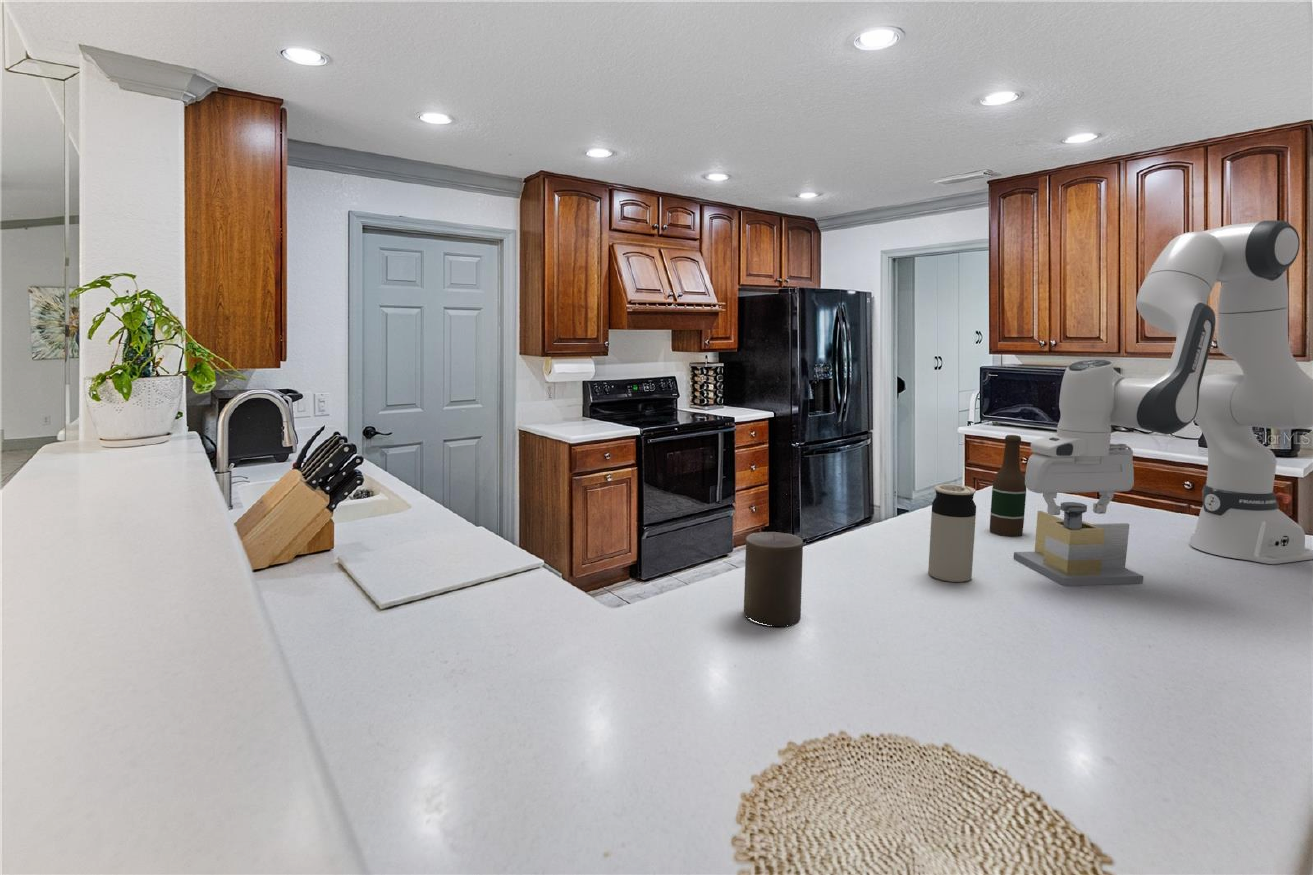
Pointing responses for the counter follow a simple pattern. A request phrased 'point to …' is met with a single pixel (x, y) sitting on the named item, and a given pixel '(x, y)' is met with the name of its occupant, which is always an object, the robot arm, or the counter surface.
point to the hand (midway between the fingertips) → (1076, 513)
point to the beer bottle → (1009, 493)
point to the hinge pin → (1073, 514)
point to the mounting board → (1106, 576)
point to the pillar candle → (773, 578)
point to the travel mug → (952, 533)
